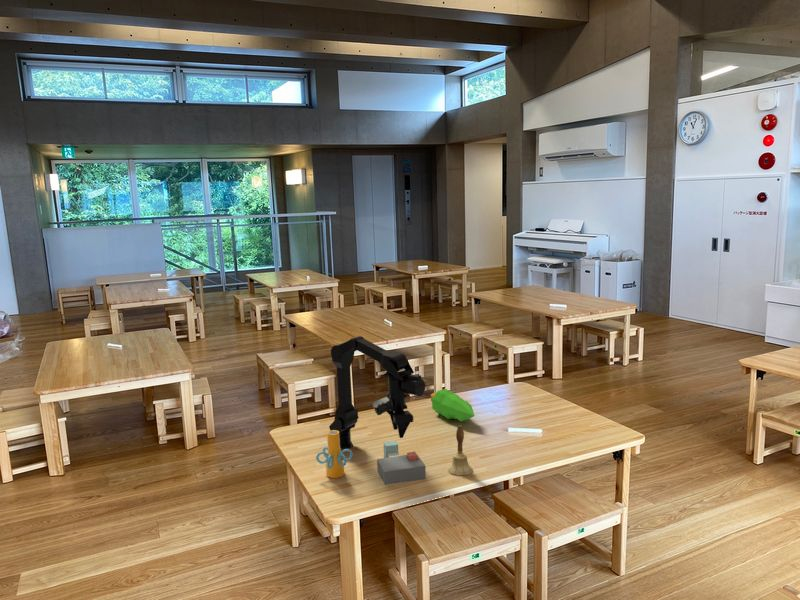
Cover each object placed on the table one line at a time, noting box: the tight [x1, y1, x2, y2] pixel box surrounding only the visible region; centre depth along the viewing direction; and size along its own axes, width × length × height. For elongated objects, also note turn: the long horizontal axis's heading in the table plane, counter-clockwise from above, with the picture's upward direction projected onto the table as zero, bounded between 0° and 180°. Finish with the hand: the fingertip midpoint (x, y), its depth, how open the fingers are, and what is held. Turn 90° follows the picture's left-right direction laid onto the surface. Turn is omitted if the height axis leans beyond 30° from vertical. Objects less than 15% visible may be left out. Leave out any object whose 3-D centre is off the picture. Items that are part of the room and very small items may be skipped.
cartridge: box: [383, 440, 400, 458], centre depth 205 cm, size 18×4×6 cm, turn 16°
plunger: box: [406, 451, 418, 461], centre depth 203 cm, size 3×3×5 cm
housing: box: [376, 454, 427, 486], centre depth 200 cm, size 10×14×5 cm
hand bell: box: [447, 424, 474, 477], centre depth 201 cm, size 8×8×16 cm
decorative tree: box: [430, 388, 475, 422], centre depth 248 cm, size 11×12×30 cm
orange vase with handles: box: [315, 430, 353, 479], centre depth 201 cm, size 12×10×15 cm
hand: (398, 433), depth 207 cm, fingers open, 7 cm apart
